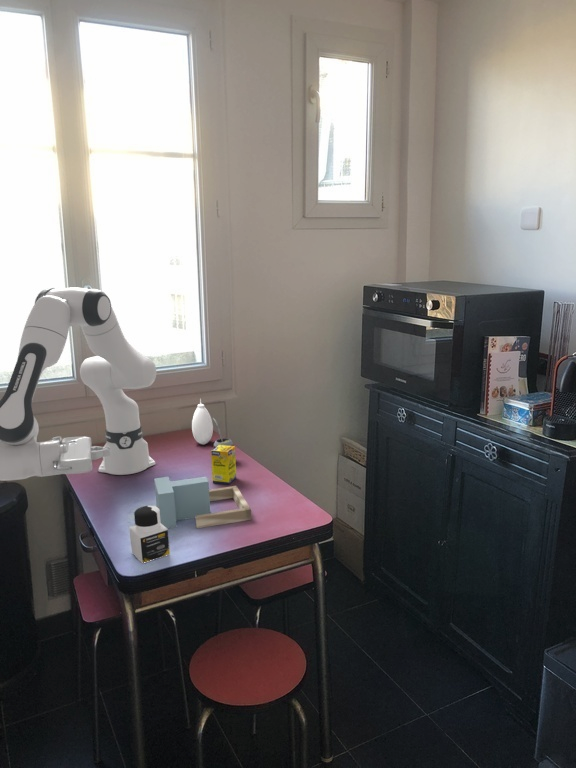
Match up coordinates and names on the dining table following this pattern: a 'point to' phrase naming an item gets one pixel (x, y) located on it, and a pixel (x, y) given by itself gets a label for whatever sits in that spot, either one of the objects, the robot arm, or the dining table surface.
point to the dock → (225, 516)
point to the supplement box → (223, 464)
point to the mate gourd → (222, 439)
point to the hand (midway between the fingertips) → (109, 450)
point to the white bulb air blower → (202, 425)
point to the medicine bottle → (148, 535)
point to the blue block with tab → (181, 499)
